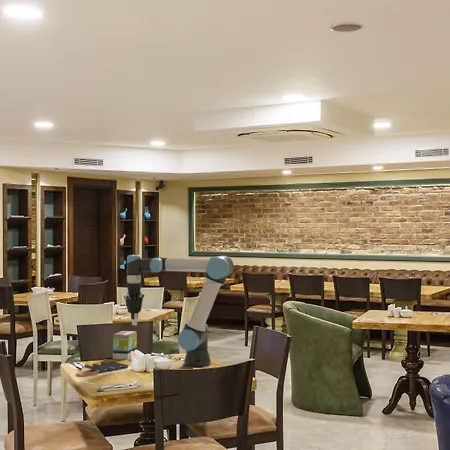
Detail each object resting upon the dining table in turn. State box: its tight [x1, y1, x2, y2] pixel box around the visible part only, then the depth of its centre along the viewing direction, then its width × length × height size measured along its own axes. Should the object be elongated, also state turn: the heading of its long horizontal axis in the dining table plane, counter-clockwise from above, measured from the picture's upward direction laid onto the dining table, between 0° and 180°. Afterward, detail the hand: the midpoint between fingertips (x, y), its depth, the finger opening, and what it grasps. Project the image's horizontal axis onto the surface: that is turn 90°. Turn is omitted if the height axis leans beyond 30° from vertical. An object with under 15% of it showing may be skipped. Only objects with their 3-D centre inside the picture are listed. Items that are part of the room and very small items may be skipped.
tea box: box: [112, 330, 138, 360], centre depth 414 cm, size 15×10×15 cm
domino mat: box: [97, 365, 132, 376], centre depth 375 cm, size 12×24×1 cm, turn 135°
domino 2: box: [83, 364, 105, 372], centre depth 367 cm, size 5×2×10 cm
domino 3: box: [91, 363, 113, 371], centre depth 371 cm, size 5×2×10 cm
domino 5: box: [108, 360, 129, 368], centre depth 378 cm, size 5×2×10 cm
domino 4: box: [100, 361, 121, 369], centre depth 375 cm, size 5×2×10 cm
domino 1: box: [75, 369, 98, 378], centre depth 364 cm, size 5×2×10 cm
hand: (134, 325), depth 387 cm, fingers closed
